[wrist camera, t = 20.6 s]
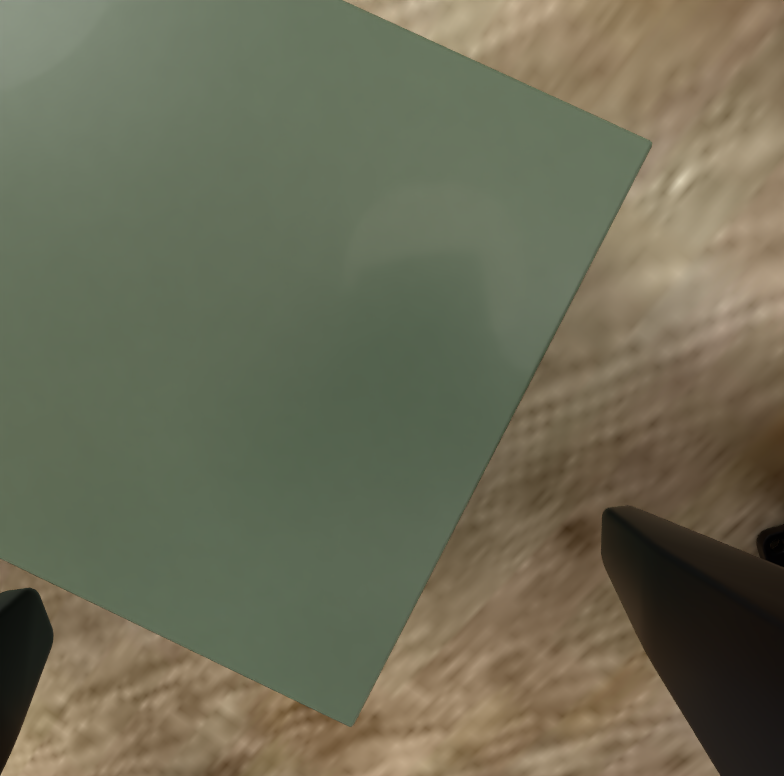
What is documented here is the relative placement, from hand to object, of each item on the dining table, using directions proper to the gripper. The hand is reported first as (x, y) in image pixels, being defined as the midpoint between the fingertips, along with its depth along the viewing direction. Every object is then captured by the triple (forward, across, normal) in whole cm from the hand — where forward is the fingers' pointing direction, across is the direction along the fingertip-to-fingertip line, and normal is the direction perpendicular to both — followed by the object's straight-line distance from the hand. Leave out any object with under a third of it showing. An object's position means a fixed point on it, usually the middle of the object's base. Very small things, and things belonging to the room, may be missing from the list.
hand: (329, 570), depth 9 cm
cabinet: (+13, +2, -2) cm, 13 cm away
